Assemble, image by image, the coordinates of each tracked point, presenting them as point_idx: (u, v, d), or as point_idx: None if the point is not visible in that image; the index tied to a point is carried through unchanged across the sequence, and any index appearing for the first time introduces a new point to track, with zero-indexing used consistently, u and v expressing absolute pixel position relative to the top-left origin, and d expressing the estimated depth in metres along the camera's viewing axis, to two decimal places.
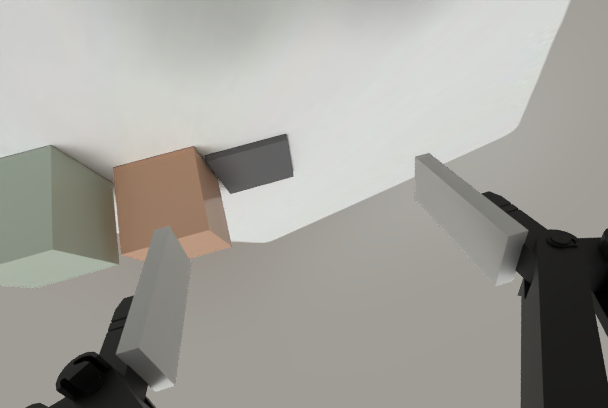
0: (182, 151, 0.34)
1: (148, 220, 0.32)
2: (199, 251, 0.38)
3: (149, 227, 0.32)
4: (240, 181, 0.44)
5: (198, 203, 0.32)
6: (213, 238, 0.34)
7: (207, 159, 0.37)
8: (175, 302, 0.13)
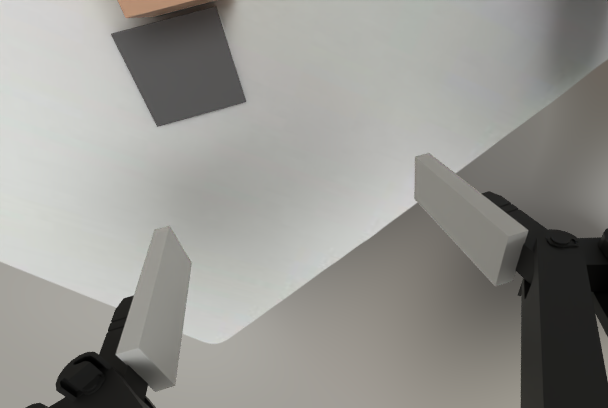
0: None
1: None
2: None
3: None
4: (153, 50, 0.33)
5: None
6: None
7: None
8: (175, 302, 0.13)
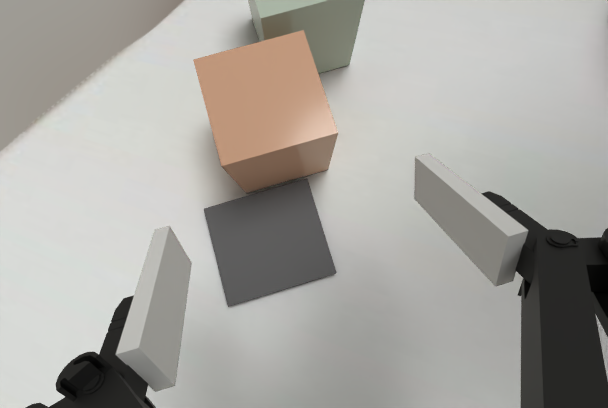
0: None
1: None
2: (236, 115, 0.23)
3: None
4: (240, 221, 0.31)
5: None
6: (293, 137, 0.23)
7: (307, 180, 0.32)
8: (175, 302, 0.13)
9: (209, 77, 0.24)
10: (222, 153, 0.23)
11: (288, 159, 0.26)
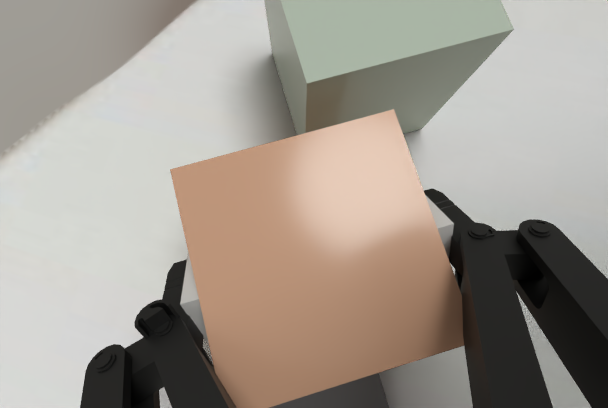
0: None
1: None
2: (258, 297, 0.11)
3: None
4: None
5: None
6: (382, 351, 0.11)
7: None
8: None
9: (202, 209, 0.11)
10: (228, 389, 0.10)
11: None
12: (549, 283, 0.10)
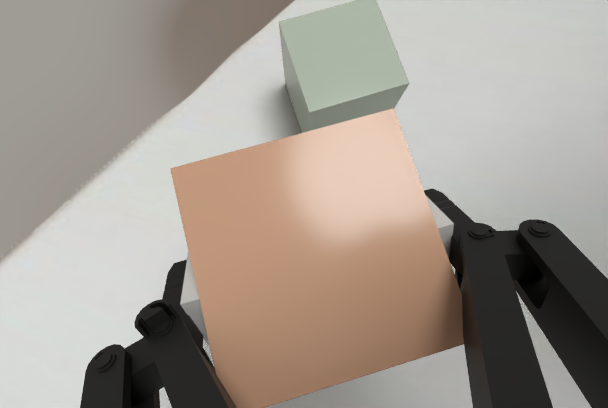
0: None
1: None
2: (258, 296, 0.11)
3: None
4: None
5: None
6: (382, 350, 0.11)
7: None
8: None
9: (202, 208, 0.11)
10: (228, 388, 0.10)
11: None
12: (549, 283, 0.10)
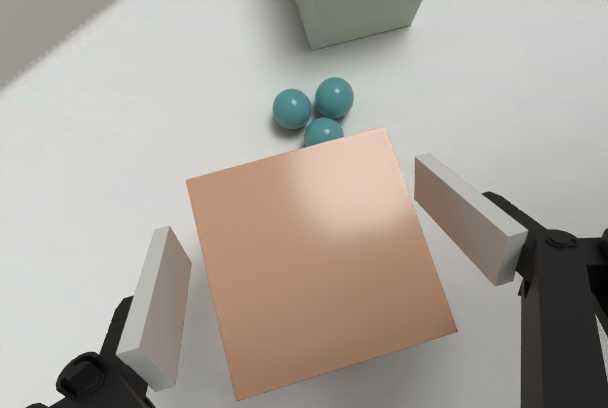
0: None
1: None
2: (264, 293, 0.12)
3: None
4: None
5: None
6: (373, 340, 0.12)
7: None
8: (175, 302, 0.13)
9: (214, 215, 0.13)
10: (238, 373, 0.12)
11: None
12: None
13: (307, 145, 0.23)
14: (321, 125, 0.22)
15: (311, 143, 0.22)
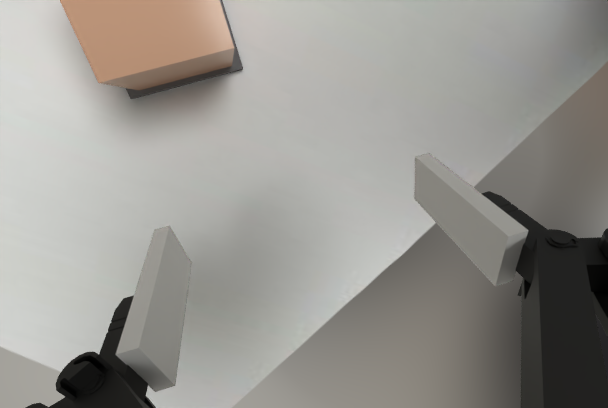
0: None
1: None
2: (104, 14, 0.19)
3: None
4: None
5: None
6: (183, 50, 0.20)
7: None
8: (175, 302, 0.13)
9: None
10: (96, 66, 0.20)
11: (181, 68, 0.23)
12: None
13: None
14: None
15: None
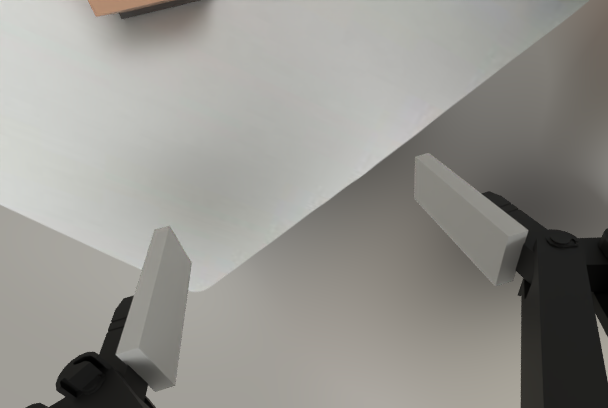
0: None
1: None
2: None
3: None
4: None
5: None
6: None
7: None
8: (175, 302, 0.13)
9: None
10: (93, 2, 0.24)
11: (164, 1, 0.27)
12: None
13: None
14: None
15: None
